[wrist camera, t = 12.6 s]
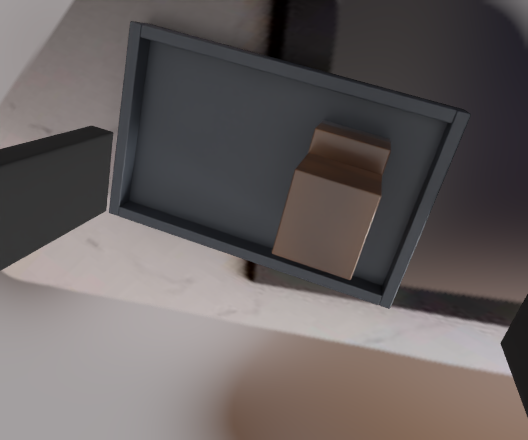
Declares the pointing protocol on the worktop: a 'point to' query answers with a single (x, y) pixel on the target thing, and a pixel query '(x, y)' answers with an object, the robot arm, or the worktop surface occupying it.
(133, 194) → the tray
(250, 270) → the worktop surface
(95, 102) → the worktop surface
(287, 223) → the brown t-shaped block
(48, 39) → the worktop surface
